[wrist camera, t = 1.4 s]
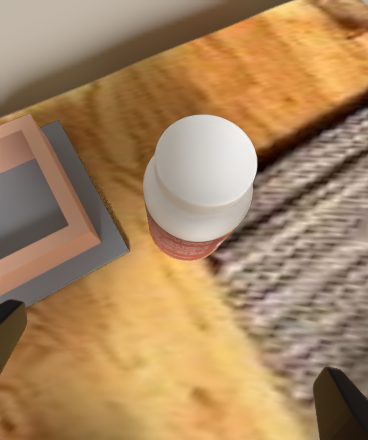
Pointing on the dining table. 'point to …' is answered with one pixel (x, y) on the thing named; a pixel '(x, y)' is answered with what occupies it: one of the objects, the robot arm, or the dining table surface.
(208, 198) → the pill bottle
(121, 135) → the dining table surface
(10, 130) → the bottle stand
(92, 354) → the dining table surface
